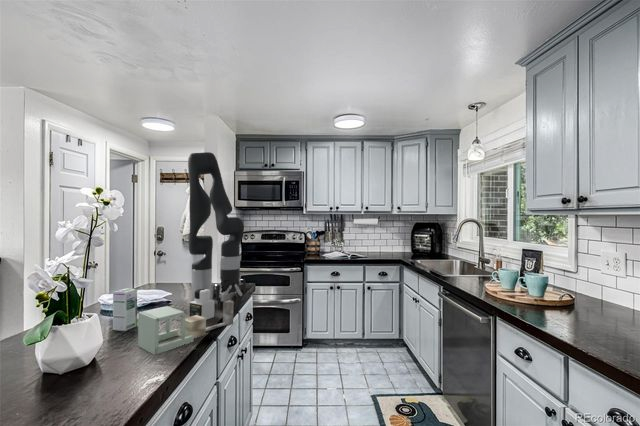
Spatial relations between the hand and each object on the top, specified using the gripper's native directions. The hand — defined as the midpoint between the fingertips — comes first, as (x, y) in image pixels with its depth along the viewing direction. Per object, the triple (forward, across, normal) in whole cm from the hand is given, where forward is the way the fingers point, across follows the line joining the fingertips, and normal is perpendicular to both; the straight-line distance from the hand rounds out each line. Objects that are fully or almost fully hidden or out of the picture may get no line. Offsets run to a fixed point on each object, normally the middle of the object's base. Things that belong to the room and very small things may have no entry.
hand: (229, 307), depth 128 cm
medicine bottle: (+7, +2, -15) cm, 16 cm away
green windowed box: (+6, +26, 0) cm, 26 cm away
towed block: (+6, +9, 0) cm, 11 cm away
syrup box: (+7, +27, -27) cm, 39 cm away
